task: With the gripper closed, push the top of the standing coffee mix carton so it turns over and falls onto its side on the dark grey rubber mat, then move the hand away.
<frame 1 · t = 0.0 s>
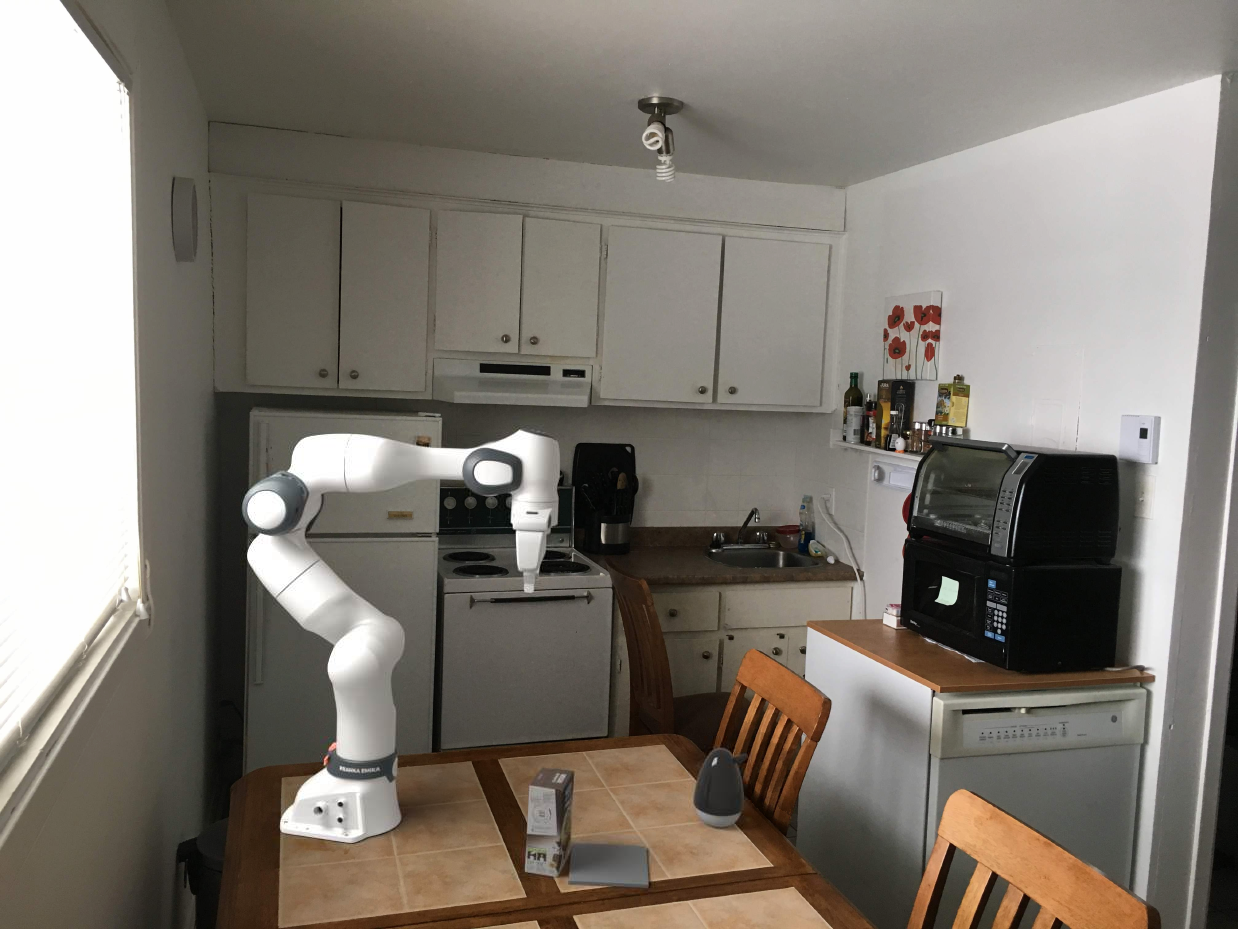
hand: (531, 586, 183), 48 cm above the table, fingers open, 8 cm apart
mat: (608, 866, 174), on the table
pump dispenser: (717, 822, 194), on the table
coffee box: (548, 864, 174), on the table
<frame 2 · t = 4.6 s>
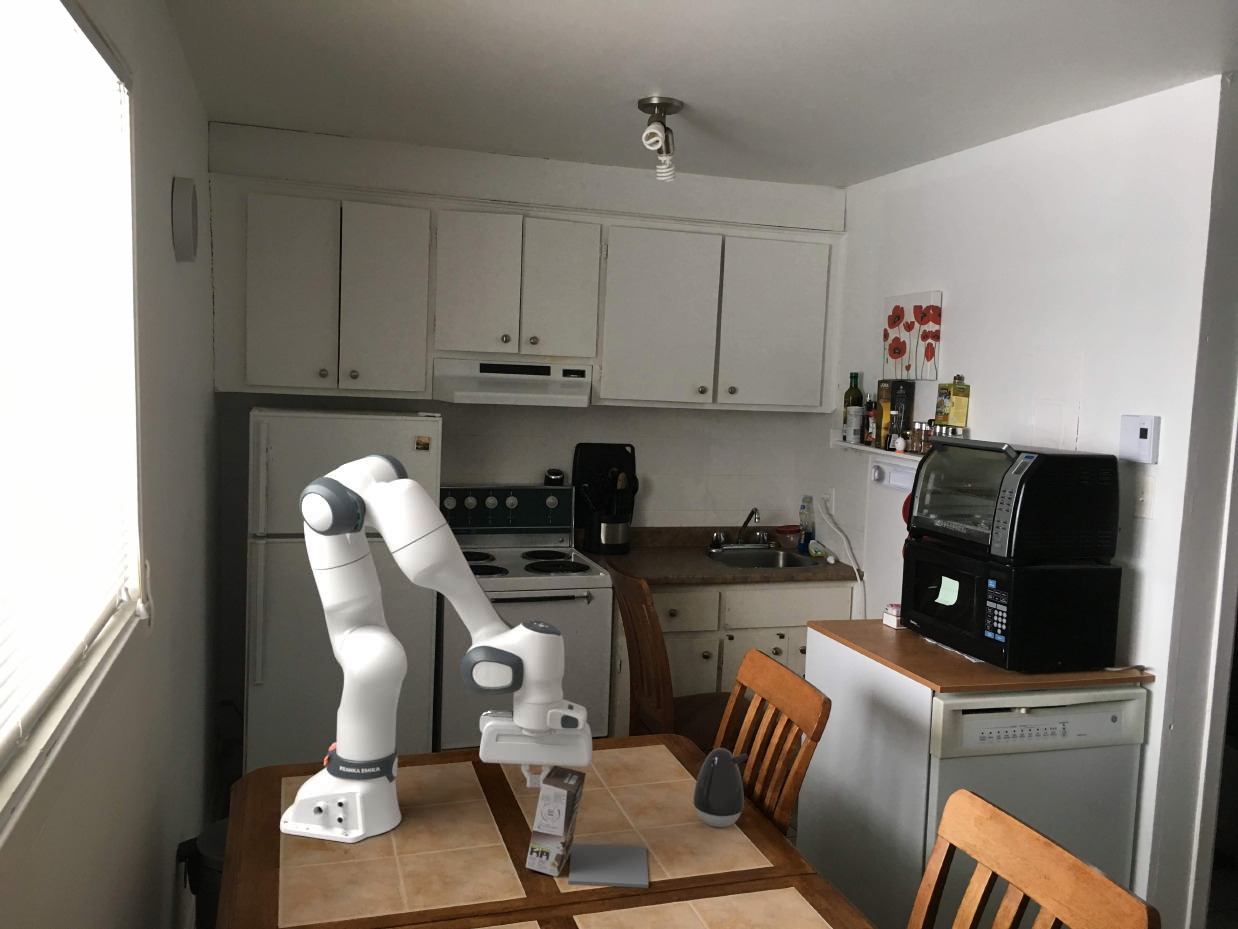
hand: (535, 786, 172), 14 cm above the table, fingers closed
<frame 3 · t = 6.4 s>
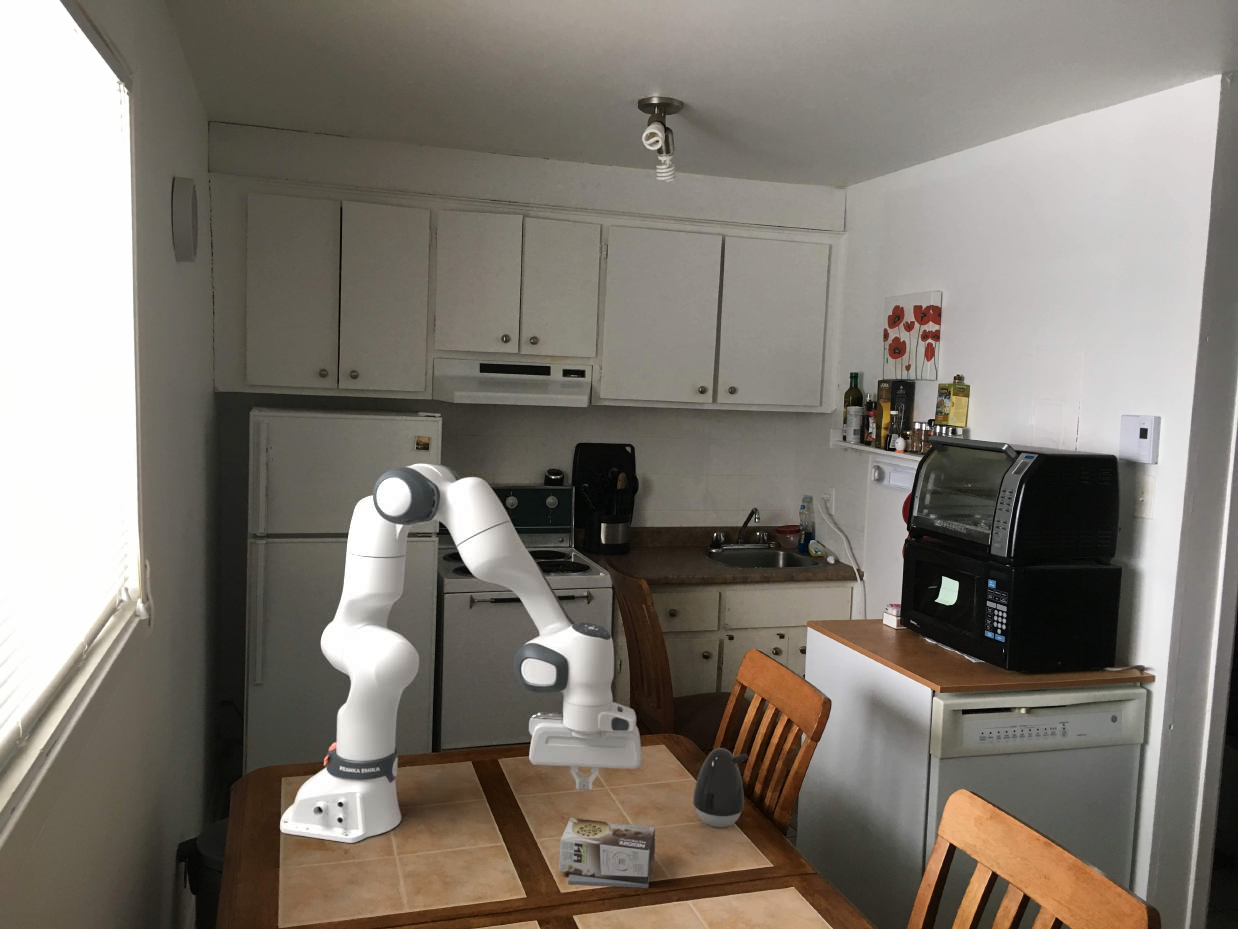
hand: (584, 788, 173), 14 cm above the table, fingers closed
coffee box: (563, 844, 173), point 4 cm above the table, touching mat
everything else where it was.
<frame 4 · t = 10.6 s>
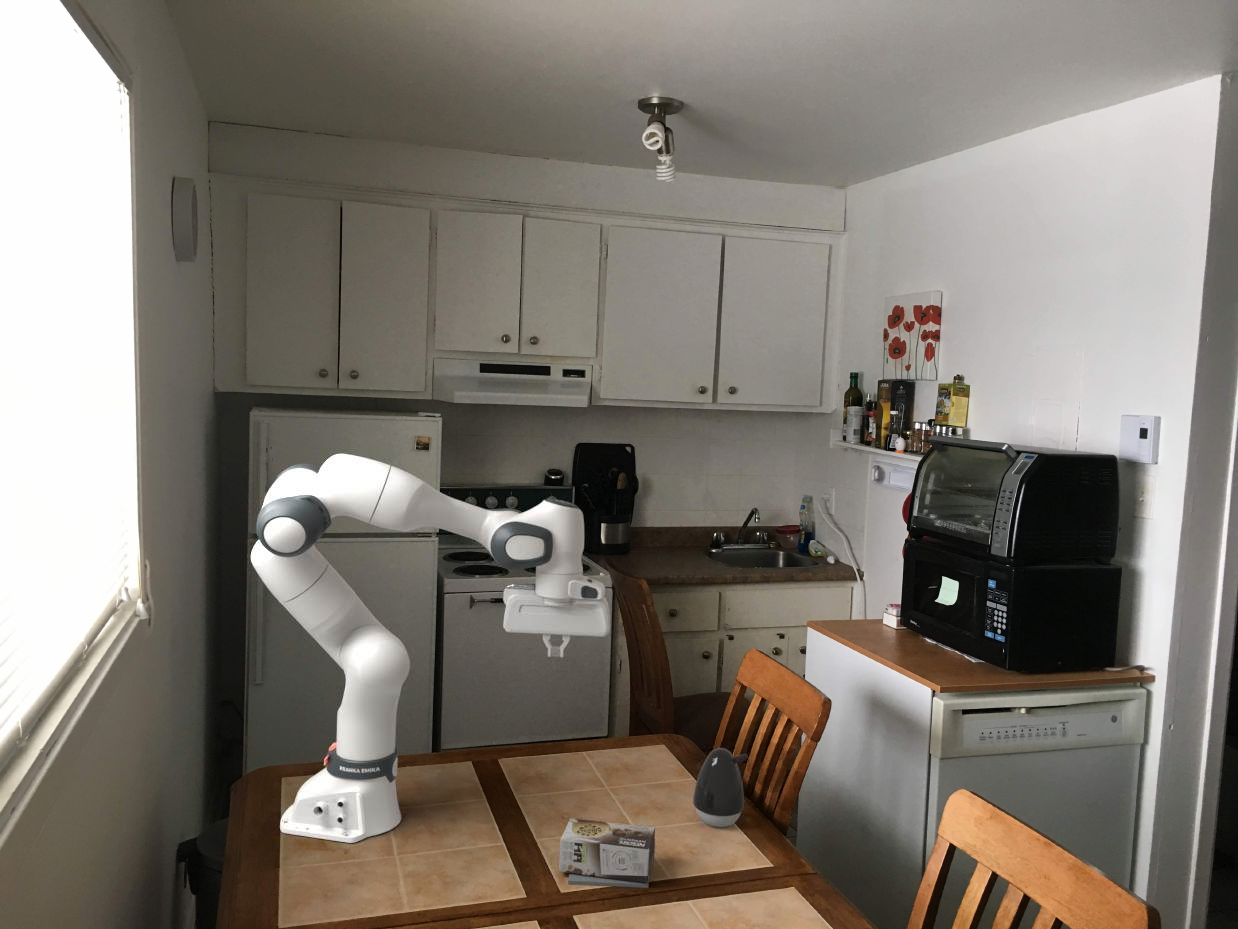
hand: (555, 656, 182), 35 cm above the table, fingers closed
nothing on the table moved.
at the end: coffee box tilted 90°; coffee box inside the target area on the mat (8.4 cm from its centre), point 3.8 cm above the mat's base; the gripper is holding nothing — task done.
